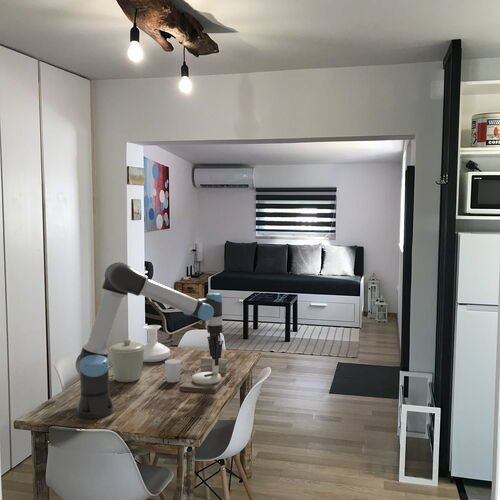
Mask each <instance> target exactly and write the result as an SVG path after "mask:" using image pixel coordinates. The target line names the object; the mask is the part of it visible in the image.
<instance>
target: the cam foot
mask: <svg viewBox="0 0 500 500" xmlns="http://www.w3.org/2000/svg"><path fill="white" fill-rule="evenodd" d="M193 374H194V373H193ZM193 374H192V375H193ZM192 375H191V376H192ZM192 381H193V382H194V383H196V384H201V385H210V384H215V383H218V382H220V381H221V375H220V374H218V372H213V363H212V372H200V373H196V374H194V375H193V376H192Z"/></svg>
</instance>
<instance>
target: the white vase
mask: <svg viewBox="0 0 500 500" xmlns="http://www.w3.org/2000/svg"><path fill="white" fill-rule="evenodd" d="M142 328H143V329H145V331H147V343H144V344H143V345H144V346H145V349H144V356H143V363H157V362H161V361H165V360H166V359H167V358H168V357H169V356H170V355H171V349H170V348H169V347H167V346H166V345H164V344H163V343H160V342H158V330H160V328H162V326H161V325H160V324H159V325H158V324H149V325H144V326H143V327H142Z"/></svg>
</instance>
